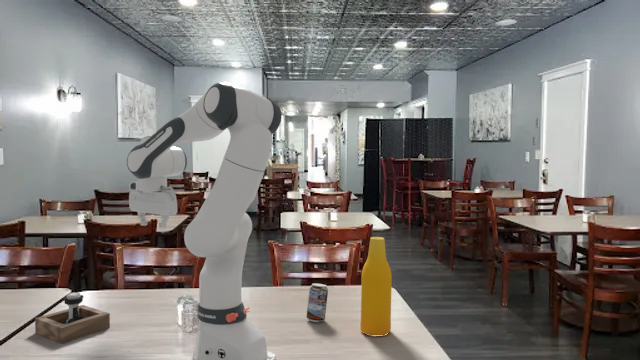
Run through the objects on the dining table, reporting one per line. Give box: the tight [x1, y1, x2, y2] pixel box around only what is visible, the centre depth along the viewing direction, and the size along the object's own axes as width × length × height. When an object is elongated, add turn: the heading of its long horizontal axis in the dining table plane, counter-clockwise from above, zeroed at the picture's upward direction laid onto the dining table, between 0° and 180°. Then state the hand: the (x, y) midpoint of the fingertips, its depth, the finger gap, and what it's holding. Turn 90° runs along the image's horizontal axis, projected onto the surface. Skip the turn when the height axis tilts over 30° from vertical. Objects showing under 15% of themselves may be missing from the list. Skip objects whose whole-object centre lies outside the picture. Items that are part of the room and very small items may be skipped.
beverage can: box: [306, 283, 329, 323], centre depth 159 cm, size 6×7×12 cm
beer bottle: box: [359, 236, 393, 335], centre depth 149 cm, size 9×9×29 cm
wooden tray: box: [34, 304, 111, 344], centre depth 148 cm, size 14×15×4 cm
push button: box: [63, 291, 84, 324], centre depth 147 cm, size 7×5×10 cm
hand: (153, 226), depth 162 cm, fingers open, 8 cm apart
